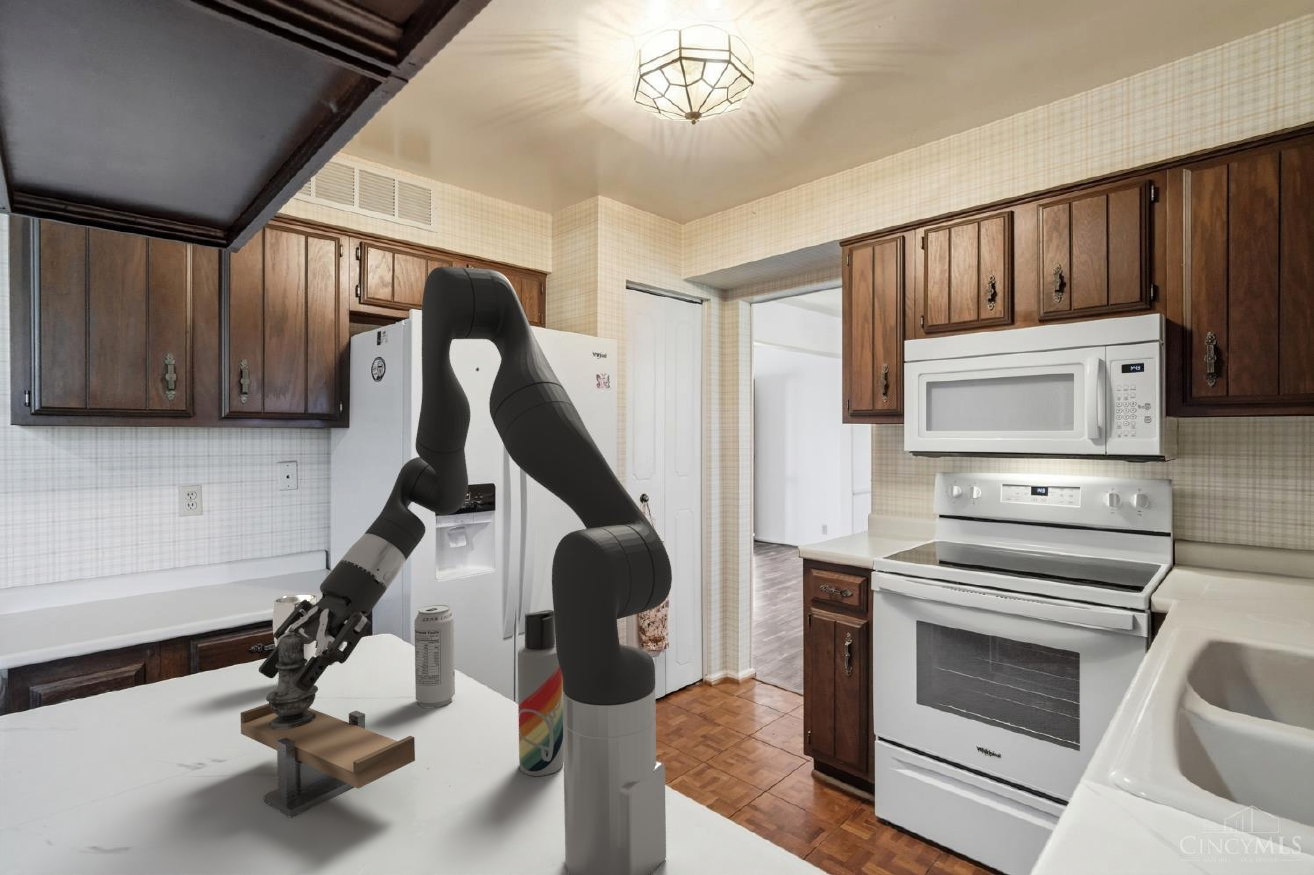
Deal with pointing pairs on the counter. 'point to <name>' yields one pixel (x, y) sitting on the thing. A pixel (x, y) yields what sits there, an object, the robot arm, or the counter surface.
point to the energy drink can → (434, 656)
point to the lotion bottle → (540, 698)
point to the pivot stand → (304, 779)
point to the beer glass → (282, 612)
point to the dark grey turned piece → (291, 686)
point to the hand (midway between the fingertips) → (281, 681)
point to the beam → (333, 746)
